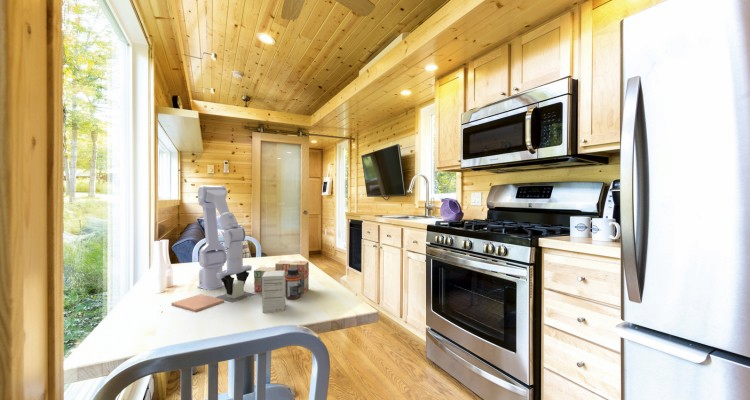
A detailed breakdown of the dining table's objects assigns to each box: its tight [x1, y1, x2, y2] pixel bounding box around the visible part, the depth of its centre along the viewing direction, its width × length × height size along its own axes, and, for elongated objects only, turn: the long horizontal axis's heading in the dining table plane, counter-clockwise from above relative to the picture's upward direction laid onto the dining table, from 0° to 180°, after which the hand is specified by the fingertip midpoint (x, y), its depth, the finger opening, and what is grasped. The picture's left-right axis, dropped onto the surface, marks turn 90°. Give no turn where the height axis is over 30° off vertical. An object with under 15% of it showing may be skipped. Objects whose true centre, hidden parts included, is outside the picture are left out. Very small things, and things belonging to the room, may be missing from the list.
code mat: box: [214, 290, 256, 304], centre depth 123 cm, size 11×11×1 cm
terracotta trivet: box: [171, 293, 225, 313], centre depth 115 cm, size 14×11×1 cm
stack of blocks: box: [253, 260, 310, 295], centre depth 130 cm, size 21×6×12 cm, turn 85°
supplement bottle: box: [285, 268, 302, 300], centre depth 122 cm, size 6×6×11 cm
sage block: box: [225, 279, 245, 298], centre depth 123 cm, size 4×4×6 cm
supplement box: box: [261, 271, 287, 313], centre depth 111 cm, size 7×7×13 cm
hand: (235, 292), depth 123 cm, fingers closed on sage block, 4 cm apart
